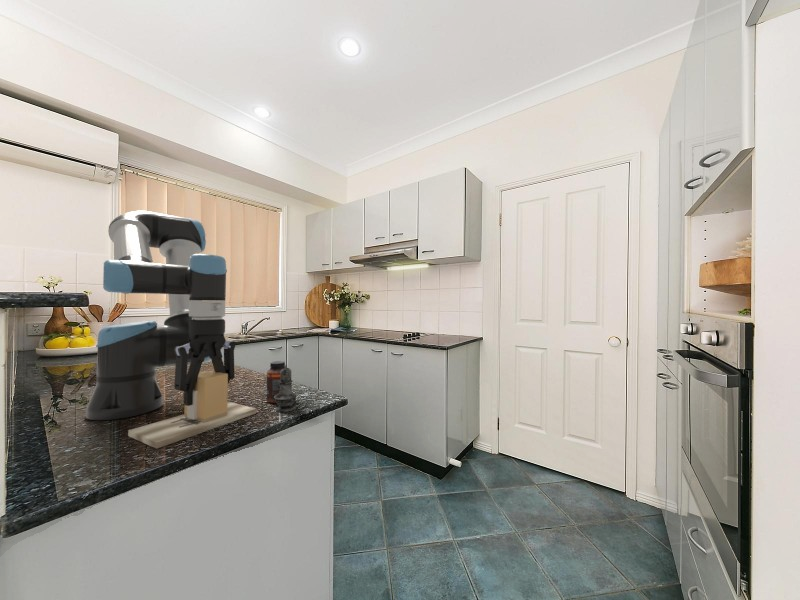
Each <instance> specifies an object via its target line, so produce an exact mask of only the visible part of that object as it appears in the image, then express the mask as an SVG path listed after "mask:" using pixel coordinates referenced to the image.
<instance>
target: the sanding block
mask: <svg viewBox="0 0 800 600" xmlns="http://www.w3.org/2000/svg"><path fill="white" fill-rule="evenodd" d="M228 386H229V383H228V374H225V373H219V372H215V371H213V370H204V371H200V372H199V375H198V378H197V381H196V385H195V388H194V390H197V391H198V408H197V419H195V420H197V421H201V422H207V421H210V420H213V419H216V418H219V417H222V416H225V415H227V402H229V400H228V393H229V392H228V390H229V389H228V388H229V387H228ZM183 410H184V412H183V414H184V417H187V405H184V408H183Z"/></svg>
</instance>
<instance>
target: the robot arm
mask: <svg viewBox="0 0 800 600" xmlns="http://www.w3.org/2000/svg"><path fill="white" fill-rule="evenodd" d="M108 225H109V226H108V230H107V231H108V236H109V239H110V240H111V241H112V242H113V259H107V260H105V261H104V262H103V274H102V275H103V276H102V280H103V281H102V283H103V289H104V291H106V292H107V293H115V294H116V293H117V294H120V293H121V294H124V295H127V294H145V295H146V294H150V295H151V294H154V295H158V294H159V295H160V294H161V295H163V294H164V295H168V307H169V316H168V317H167V318H166V319H165V320H164V322H163V325H158V323H157V320H145V321H135V322H134V321H133V322H126V323H118V324H113V325H109V326H105V327H102V328H101V329H100V330H99V332H97V333H98V334H97V341H96V343H97V344H96V345H95V347H96V348H97V355H96V356H97V360H96V384H95V388H94V390H93V392H92V395H91V396H90V398H89V401H88V403H87V405H86V408H85V419H87V420H90V421H110V420H111V421H112V420H119V419H124V418H125V419H126V418H131V417H134V416H135V417H136V416H139V415H143V414H146V413H149V412H154V411H155V410H157V409H159V408H161V407H163V403H164V395H163V393H162V391H161V388H160V386H159V384H158V381H157V379H156V369H157V368H161V367H162V368H163V367H172V366H175V368H174V369H175V370H174V383H173V384H174V385H173V386H174V387H173V388H174V389H175V390H177V391H180V392H183V405H184V406H185V405H187V418H190V419H193V420H195V419H197V408H198V391H197V390H194V388H195V385H196V381H197V378H198V375H199V372H201V367H202V365H203V363H205V362H206V363H207V362H209V361H211V364H212V367H213V370H214V372H219V373H225V374H228V384H230V382H231V380H235V377H236V376H235V348H236V345H237V342H236V341H235V340H227V339H226V337H225V332H226V320H225V316H226V299H227V298H226V296H227V295H226V294H227V292H226V291H227V289H226V288H227V287H226V286H227V285H226V284H227V271H228V270H227V261H226V259H225V258H224V257H223V256H220V255H217V254H210V253H209V254H204V253H203V252H204V251H205V249H206V243H207V241H206V232H205V228H204V226H203V224H202V223H201V222H200V221H199V220H197V219H193V218H189V217H187V216H186V217H185V216H184V217H182V216H181V217H180V216H176V215H169V214H163V213H159V212H153V211H147V210H136V211H135V210H134V211H129V212H125V213H123V214H120V215H118V216H116V217H115V218H113V220H112V221H111V222H110V224H108ZM151 248H156V249H158V250H159V253H160V254H161V256H162V257H164V258H165V263H166V264H165V263H155V262H154V261H153V256H152V253H151ZM222 348H223V353H222ZM188 365H189V366H188Z"/></svg>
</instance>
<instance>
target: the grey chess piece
mask: <svg viewBox="0 0 800 600" xmlns="http://www.w3.org/2000/svg"><path fill="white" fill-rule="evenodd" d="M279 383H280V392H279V394H277V395H275V396H274V398H275V401H276V403H275V404H276V405H277V406H278V407H276V408H275V409H274V411H275V412H276V413H288V412H289V411H290V412H292V410H293V411H295V410H296V409H297V408H296V406H295V405H293V404H294V403H295V401H296V400H297V397H298V394H297V393H296V392H293V389H292V388H293V386H292V385H293V384H292V383H293V380H292V369H291V368H288V364H285V368H284V369H282V370H281V372H280V382H279ZM295 408H296V409H295ZM294 409H295V410H294Z"/></svg>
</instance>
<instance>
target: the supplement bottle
mask: <svg viewBox="0 0 800 600" xmlns="http://www.w3.org/2000/svg"><path fill="white" fill-rule="evenodd" d="M285 365H286V362H285V361H284V360H276V361H271V362H270V367H269V369H268V370H266V371H267V372H266V393H265V394H266V397H265V398H266V402H268V403H272V404H277V403H276V401H275V398H274V396H275V395H277V394H279V392H280V383H279V382H280V372H281V370H282V369H284V368H285Z"/></svg>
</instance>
